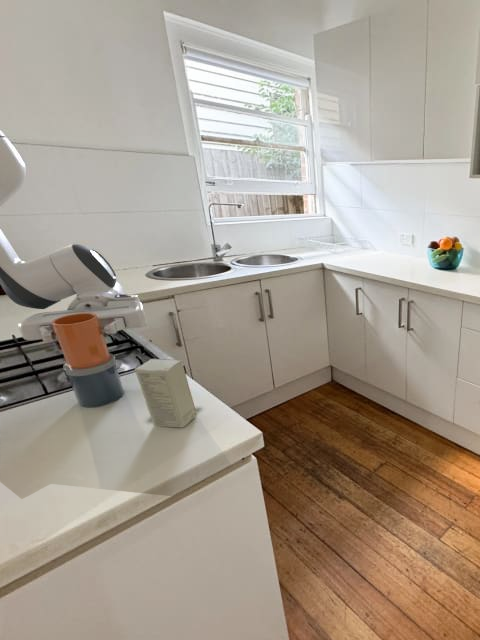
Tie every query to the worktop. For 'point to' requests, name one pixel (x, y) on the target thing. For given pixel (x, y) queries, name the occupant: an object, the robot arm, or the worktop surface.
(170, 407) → the cosmetic box
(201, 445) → the worktop surface
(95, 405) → the jar
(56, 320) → the cup
